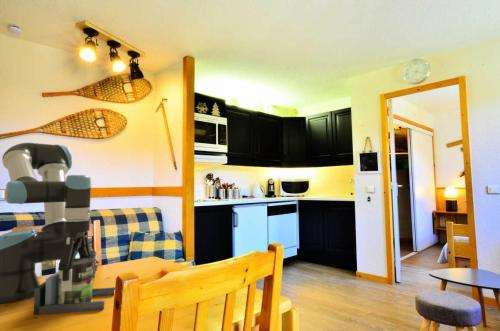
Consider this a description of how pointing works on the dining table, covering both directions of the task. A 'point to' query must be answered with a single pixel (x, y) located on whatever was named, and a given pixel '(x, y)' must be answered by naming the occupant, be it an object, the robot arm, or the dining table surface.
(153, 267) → the dining table surface
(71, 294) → the coffee can
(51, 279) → the pusher plate
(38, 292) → the lane
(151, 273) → the dining table surface
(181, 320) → the dining table surface
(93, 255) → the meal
